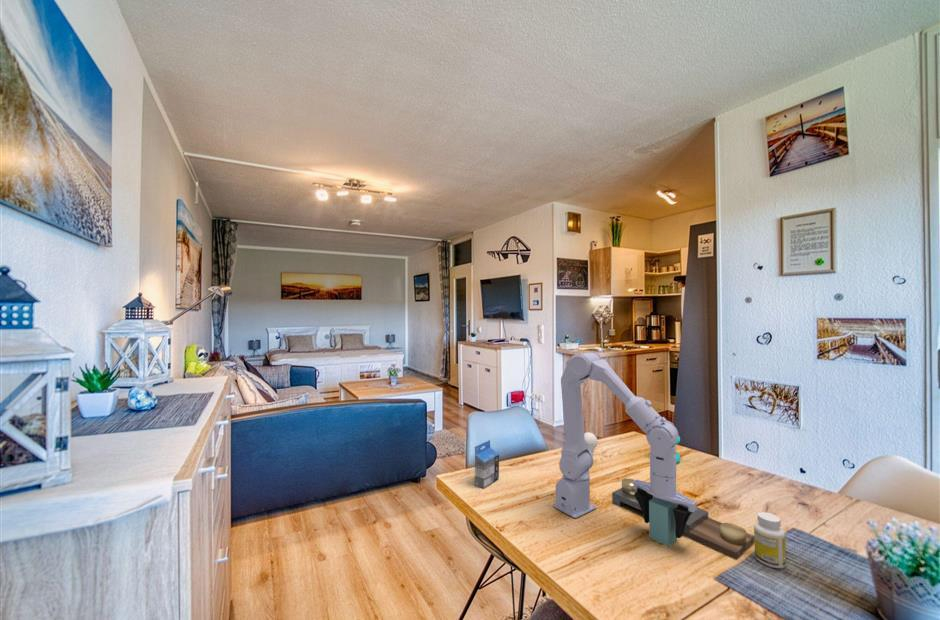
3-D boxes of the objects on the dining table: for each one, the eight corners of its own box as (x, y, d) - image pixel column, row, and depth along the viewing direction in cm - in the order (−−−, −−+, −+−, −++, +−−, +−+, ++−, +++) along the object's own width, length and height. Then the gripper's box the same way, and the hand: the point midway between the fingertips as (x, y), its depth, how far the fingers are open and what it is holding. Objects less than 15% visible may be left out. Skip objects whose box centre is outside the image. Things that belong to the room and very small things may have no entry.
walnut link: (736, 559, 83) (736, 542, 83) (645, 517, 100) (645, 503, 100) (754, 542, 90) (754, 525, 90) (666, 505, 107) (666, 492, 107)
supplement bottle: (771, 553, 86) (770, 510, 86) (792, 569, 80) (792, 523, 80) (748, 553, 85) (748, 510, 86) (768, 569, 80) (767, 523, 80)
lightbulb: (586, 466, 134) (586, 435, 134) (577, 460, 140) (577, 430, 140) (601, 464, 136) (600, 434, 136) (591, 458, 142) (591, 429, 142)
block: (667, 546, 88) (667, 508, 88) (649, 537, 91) (649, 500, 92) (677, 540, 90) (677, 502, 91) (658, 531, 94) (658, 495, 94)
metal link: (688, 537, 91) (688, 515, 91) (612, 502, 108) (612, 484, 108) (708, 523, 98) (708, 502, 98) (633, 492, 115) (633, 474, 115)
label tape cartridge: (484, 489, 117) (484, 449, 117) (474, 485, 119) (474, 447, 119) (499, 479, 124) (499, 442, 124) (489, 476, 126) (489, 439, 126)
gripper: (702, 479, 88) (702, 537, 87) (643, 459, 99) (643, 511, 99) (688, 487, 84) (688, 548, 83) (628, 465, 95) (628, 519, 95)
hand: (663, 528), depth 91 cm, fingers open, 7 cm apart
